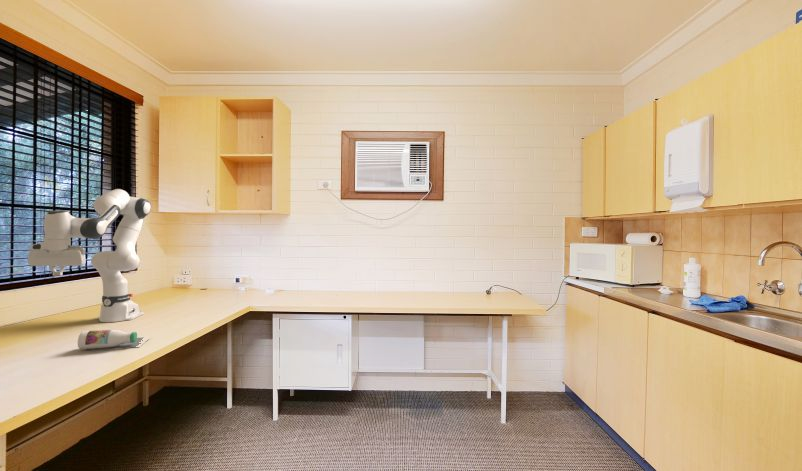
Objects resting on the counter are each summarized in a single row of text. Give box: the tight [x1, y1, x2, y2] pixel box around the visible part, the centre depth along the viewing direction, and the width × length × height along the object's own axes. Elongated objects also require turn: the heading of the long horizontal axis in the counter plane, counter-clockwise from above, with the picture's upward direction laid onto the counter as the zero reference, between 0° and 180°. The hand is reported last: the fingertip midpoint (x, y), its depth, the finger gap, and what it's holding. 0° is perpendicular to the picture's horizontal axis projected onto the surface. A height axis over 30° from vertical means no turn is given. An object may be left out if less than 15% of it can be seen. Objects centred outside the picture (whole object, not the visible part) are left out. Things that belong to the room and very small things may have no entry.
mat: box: [85, 336, 145, 351], centre depth 165 cm, size 20×14×1 cm
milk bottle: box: [77, 329, 138, 350], centre depth 159 cm, size 8×8×20 cm
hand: (57, 275), depth 163 cm, fingers closed
